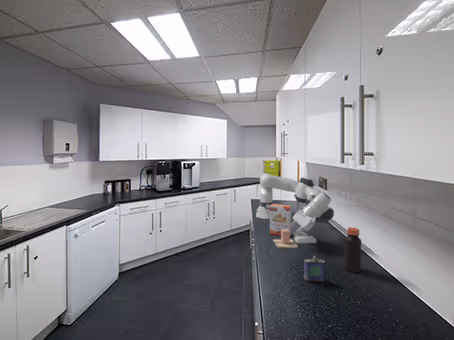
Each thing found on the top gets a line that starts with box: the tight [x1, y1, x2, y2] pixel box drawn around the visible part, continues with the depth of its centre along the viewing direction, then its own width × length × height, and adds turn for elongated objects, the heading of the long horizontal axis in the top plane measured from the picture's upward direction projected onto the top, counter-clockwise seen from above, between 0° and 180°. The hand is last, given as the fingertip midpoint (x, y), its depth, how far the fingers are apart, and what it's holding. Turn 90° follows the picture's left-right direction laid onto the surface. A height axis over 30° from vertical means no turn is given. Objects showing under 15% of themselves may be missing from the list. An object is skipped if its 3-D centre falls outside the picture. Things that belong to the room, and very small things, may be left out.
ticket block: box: [280, 229, 290, 244], centre depth 137 cm, size 4×4×8 cm
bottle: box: [344, 227, 362, 274], centre depth 105 cm, size 7×7×20 cm
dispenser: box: [293, 231, 317, 245], centre depth 144 cm, size 14×12×2 cm
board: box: [272, 238, 299, 250], centre depth 137 cm, size 12×12×1 cm
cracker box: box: [269, 203, 292, 238], centre depth 153 cm, size 14×6×21 cm, turn 62°
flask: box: [303, 255, 327, 282], centre depth 98 cm, size 9×3×11 cm, turn 83°
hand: (293, 229), depth 136 cm, fingers open, 8 cm apart
